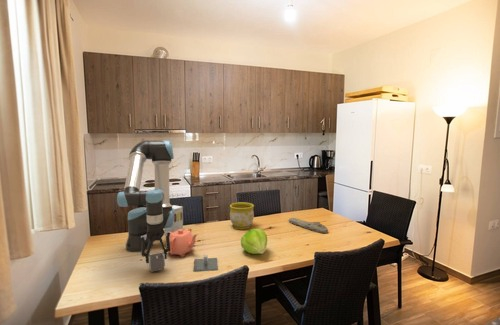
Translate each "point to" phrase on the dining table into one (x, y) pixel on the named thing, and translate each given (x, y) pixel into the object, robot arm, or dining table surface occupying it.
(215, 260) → the shaft post
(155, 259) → the gray cube
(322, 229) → the elongated rock
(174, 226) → the supplement box
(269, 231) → the dining table surface
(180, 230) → the teapot
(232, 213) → the flowerpot
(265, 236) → the lettuce
